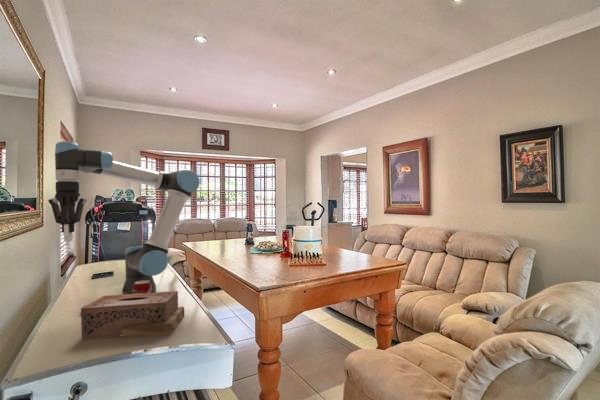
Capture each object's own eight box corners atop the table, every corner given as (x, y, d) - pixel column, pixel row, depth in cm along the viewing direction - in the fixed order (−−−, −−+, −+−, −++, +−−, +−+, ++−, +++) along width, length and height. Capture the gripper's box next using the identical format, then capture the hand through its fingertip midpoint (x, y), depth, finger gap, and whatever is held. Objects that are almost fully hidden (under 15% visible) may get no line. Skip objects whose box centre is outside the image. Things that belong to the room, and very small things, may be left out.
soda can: (144, 315, 119) (143, 284, 119) (129, 314, 120) (128, 283, 120) (155, 309, 125) (155, 279, 126) (141, 309, 127) (140, 279, 127)
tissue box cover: (81, 340, 98) (81, 308, 98) (104, 323, 112) (104, 295, 112) (166, 333, 101) (165, 302, 101) (178, 317, 115) (177, 290, 116)
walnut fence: (142, 319, 114) (142, 309, 114) (184, 316, 116) (184, 306, 116) (121, 338, 97) (121, 327, 97) (171, 334, 99) (171, 323, 99)
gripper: (42, 180, 118) (43, 242, 117) (79, 180, 120) (80, 241, 119) (55, 182, 125) (56, 240, 125) (90, 181, 127) (91, 239, 126)
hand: (68, 240), depth 122 cm, fingers closed
